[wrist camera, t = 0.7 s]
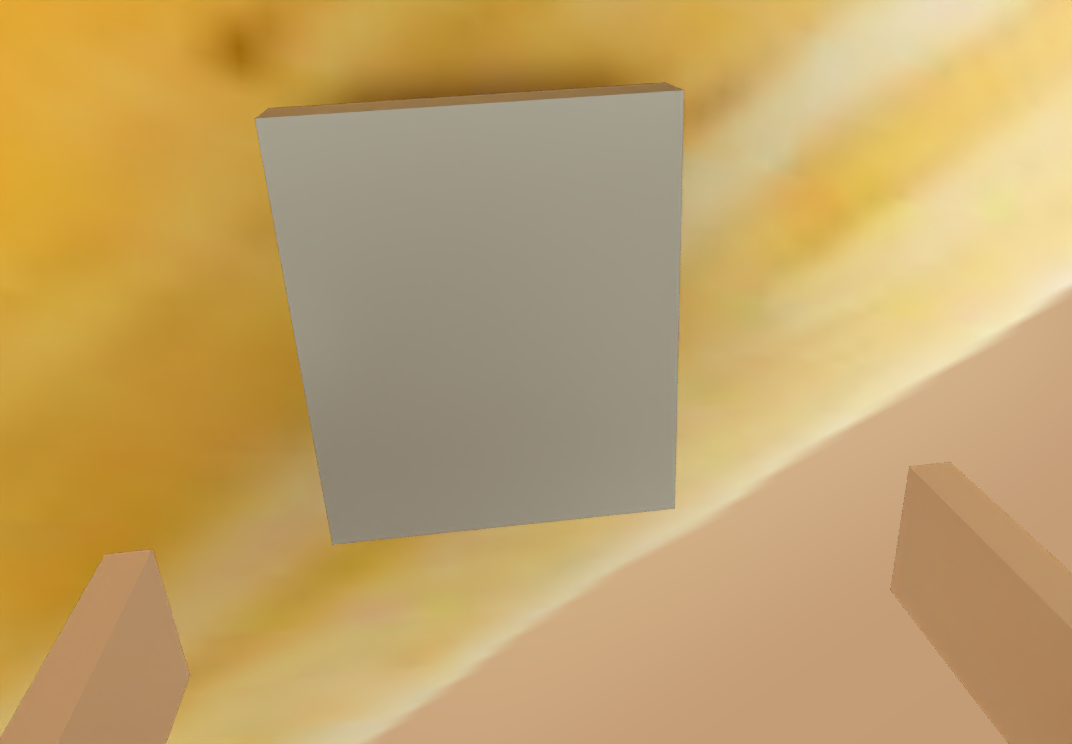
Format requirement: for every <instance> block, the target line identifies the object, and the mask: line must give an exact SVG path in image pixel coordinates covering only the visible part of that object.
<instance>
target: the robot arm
mask: <svg viewBox="0 0 1072 744" xmlns="http://www.w3.org/2000/svg"><path fill="white" fill-rule="evenodd" d="M890 590H891V591H892V593H893V594H894V595H895V597H896V598H897V599H898V601H899V602H900V603H901V604H902V606H903V607H904V608H905V610H906V611H907V612H908V614H909V615H910V616H911V617H912V619H913V620H914V621H915V623H916V624H917V625H918V627H919V628H920V629H921V631H922V632H923V633H924V634H925V636H926V637H927V638H928V639H929V641H930V642H931V644H932V645H933V646H934V647H935V649H936V650H937V651H938V653H939V654H940V655H941V657H942V658H943V659H944V660H945V662H946V663H947V664H948V666H949V667H950V668H951V670H952V671H953V672H954V674H955V675H956V676H957V677H958V679H959V680H960V681H961V683H962V684H963V685H964V687H965V688H966V689H967V690H968V692H969V693H970V694H971V696H972V697H973V698H974V700H975V701H976V702H977V704H978V705H979V706H980V707H981V709H982V710H983V711H984V713H985V714H986V715H987V717H988V718H989V719H990V720H991V722H992V723H993V724H994V726H995V727H996V728H997V730H998V731H999V732H1000V734H1001V735H1002V736H1003V737H1004V739H1005V740H1006V741H1007V743H1008V744H1072V573H1071V572H1070V571H1069V570H1068V569H1067V568H1066V567H1065V566H1064V565H1063V564H1062V563H1061V562H1059V561H1058V560H1057V559H1056V558H1055V557H1054V556H1053V555H1052V554H1051V553H1050V552H1048V551H1047V550H1046V549H1045V548H1044V547H1043V546H1042V545H1041V544H1040V543H1039V542H1037V541H1036V540H1035V539H1034V538H1033V537H1032V536H1031V535H1030V534H1029V533H1028V532H1026V531H1025V530H1024V529H1023V528H1022V527H1021V526H1020V525H1019V524H1018V523H1016V522H1015V521H1014V520H1013V519H1012V518H1011V517H1010V516H1009V515H1008V514H1007V513H1005V512H1004V511H1003V510H1002V509H1001V508H1000V507H999V506H998V505H997V504H996V503H994V502H993V501H992V500H991V499H990V498H989V497H988V496H987V495H986V494H985V493H984V492H982V491H981V490H980V489H979V488H978V487H977V486H976V485H975V484H974V483H973V482H971V481H970V480H969V479H968V478H967V477H966V476H965V475H964V474H963V473H962V472H960V471H959V470H958V469H957V468H956V467H955V466H954V465H953V464H952V463H951V462H944V463H936V464H926V465H917V466H909V471H908V477H907V484H906V490H905V497H904V503H903V510H902V516H901V523H900V530H899V536H898V543H897V549H896V556H895V562H894V570H893V575H892V582H891V589H890ZM189 676H190V674H189V670H188V667H187V664H186V660H185V657H184V653H183V650H182V647H181V643H180V640H179V636H178V633H177V630H176V626H175V623H174V619H173V616H172V613H171V609H170V606H169V602H168V599H167V596H166V592H165V589H164V585H163V582H162V579H161V575H160V572H159V568H158V565H157V562H156V558H155V555H154V551H153V549H149V550H140V551H130V552H121V553H112V554H105V555H104V557H103V559H102V561H101V562H100V564H99V566H98V568H97V569H96V571H95V573H94V575H93V576H92V578H91V580H90V582H89V583H88V585H87V587H86V589H85V590H84V592H83V594H82V596H81V597H80V599H79V601H78V603H77V604H76V606H75V608H74V610H73V611H72V613H71V615H70V617H69V618H68V620H67V622H66V624H65V625H64V627H63V629H62V631H61V632H60V634H59V636H58V638H57V640H56V641H55V643H54V645H53V647H52V648H51V650H50V652H49V654H48V655H47V657H46V659H45V661H44V662H43V664H42V666H41V668H40V669H39V671H38V673H37V675H36V676H35V678H34V680H33V682H32V683H31V685H30V687H29V689H28V690H27V692H26V694H25V696H24V697H23V699H22V701H21V703H20V704H19V706H18V708H17V710H16V711H15V713H14V715H13V717H12V718H11V720H10V722H9V724H8V725H7V727H6V729H5V731H4V732H3V734H2V736H1V738H0V744H166V742H167V740H168V737H169V734H170V731H171V728H172V725H173V722H174V719H175V717H176V714H177V711H178V708H179V705H180V702H181V699H182V696H183V693H184V691H185V688H186V685H187V682H188V679H189Z"/></svg>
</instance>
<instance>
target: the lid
mask: <svg viewBox="0 0 1072 744" xmlns="http://www.w3.org/2000/svg"><path fill="white" fill-rule="evenodd" d="M683 112H684V90H682V89H680V88H677V87H675V86H672V85H670V84H668V83H665V82H664V83H649V84H634V85H618V86H603V87H588V88H572V89H557V90H541V91H526V92H511V93H495V94H480V95H465V96H449V97H434V98H419V99H403V100H388V101H372V102H357V103H342V104H326V105H311V106H296V107H280V108H268V109H267V110H266V111H264V112H263V113H262V114H260V115H259V116H258V117H256V118H255V123H256V128H257V134H258V139H259V145H260V150H261V156H262V161H263V167H264V172H265V178H266V183H267V189H268V194H269V200H270V205H271V211H272V216H273V222H274V227H275V233H276V238H277V244H278V249H279V255H280V260H281V265H282V271H283V276H284V282H285V287H286V293H287V298H288V304H289V309H290V315H291V320H292V326H293V331H294V337H295V342H296V348H297V353H298V359H299V364H300V370H301V375H302V381H303V386H304V392H305V397H306V403H307V408H308V414H309V419H310V425H311V430H312V436H313V441H314V446H315V452H316V457H317V463H318V468H319V474H320V479H321V485H322V490H323V496H324V501H325V507H326V512H327V518H328V523H329V529H330V534H331V540H332V545H334V544H343V543H353V542H362V541H372V540H381V539H391V538H400V537H410V536H419V535H429V534H438V533H448V532H457V531H467V530H476V529H486V528H495V527H505V526H514V525H524V524H533V523H542V522H552V521H561V520H571V519H580V518H590V517H599V516H609V515H618V514H628V513H637V512H647V511H656V510H666V509H675V475H676V429H677V384H678V339H679V293H680V248H681V202H682V157H683Z"/></svg>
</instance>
